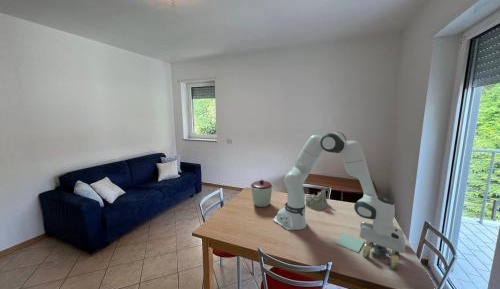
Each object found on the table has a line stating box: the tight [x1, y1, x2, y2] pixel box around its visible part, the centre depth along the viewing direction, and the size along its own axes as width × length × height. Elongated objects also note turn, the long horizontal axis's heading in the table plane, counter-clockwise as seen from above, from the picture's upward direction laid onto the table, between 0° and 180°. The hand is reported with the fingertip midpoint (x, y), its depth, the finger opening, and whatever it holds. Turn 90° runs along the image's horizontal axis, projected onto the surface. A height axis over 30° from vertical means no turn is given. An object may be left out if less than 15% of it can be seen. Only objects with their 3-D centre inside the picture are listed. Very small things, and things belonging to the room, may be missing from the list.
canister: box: [250, 179, 274, 208], centre depth 169 cm, size 18×18×21 cm
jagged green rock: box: [305, 189, 328, 211], centre depth 167 cm, size 16×16×15 cm
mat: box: [335, 233, 365, 254], centre depth 121 cm, size 12×12×1 cm
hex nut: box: [373, 244, 388, 259], centre depth 110 cm, size 6×5×5 cm
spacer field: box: [362, 242, 400, 272], centre depth 110 cm, size 16×16×7 cm
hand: (380, 251), depth 110 cm, fingers open, 8 cm apart
